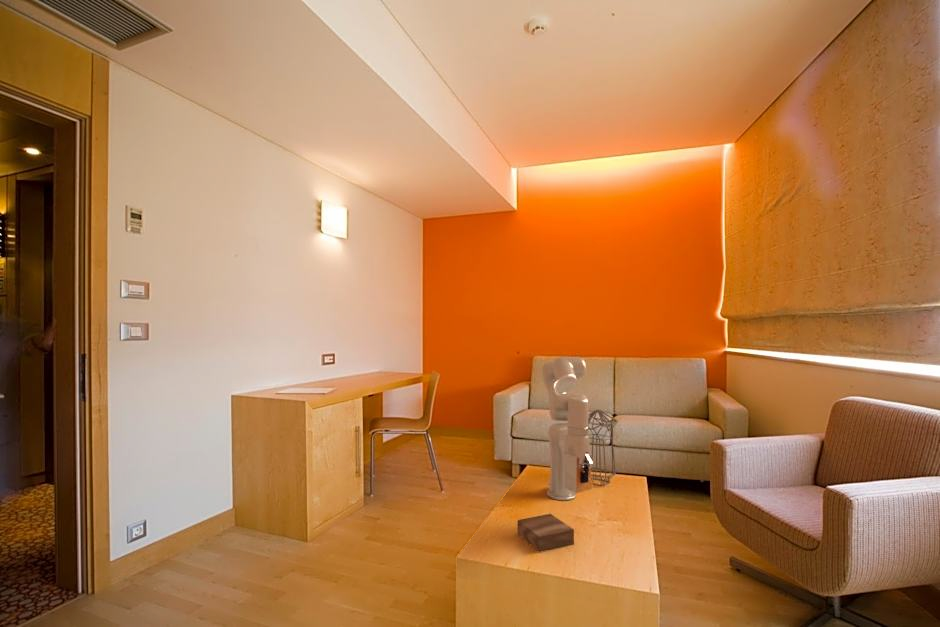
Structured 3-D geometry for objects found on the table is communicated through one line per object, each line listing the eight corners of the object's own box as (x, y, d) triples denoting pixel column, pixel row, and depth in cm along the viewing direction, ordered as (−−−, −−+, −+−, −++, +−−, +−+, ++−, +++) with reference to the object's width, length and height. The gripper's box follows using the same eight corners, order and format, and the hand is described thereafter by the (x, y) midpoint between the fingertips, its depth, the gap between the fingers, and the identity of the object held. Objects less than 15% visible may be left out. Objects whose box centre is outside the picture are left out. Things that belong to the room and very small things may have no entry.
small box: (576, 494, 156) (576, 457, 156) (563, 488, 161) (563, 453, 161) (591, 489, 160) (591, 454, 160) (578, 483, 165) (578, 449, 166)
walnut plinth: (517, 534, 154) (517, 520, 155) (550, 527, 160) (550, 513, 160) (539, 552, 141) (539, 536, 142) (573, 544, 147) (573, 529, 147)
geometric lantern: (576, 482, 210) (575, 409, 213) (592, 475, 221) (591, 406, 224) (606, 490, 199) (605, 413, 202) (621, 482, 210) (620, 409, 213)
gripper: (555, 426, 167) (555, 472, 167) (584, 437, 151) (584, 488, 151) (571, 424, 170) (571, 470, 170) (601, 435, 155) (601, 485, 154)
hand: (577, 478), depth 161 cm, fingers closed on small box, 6 cm apart
